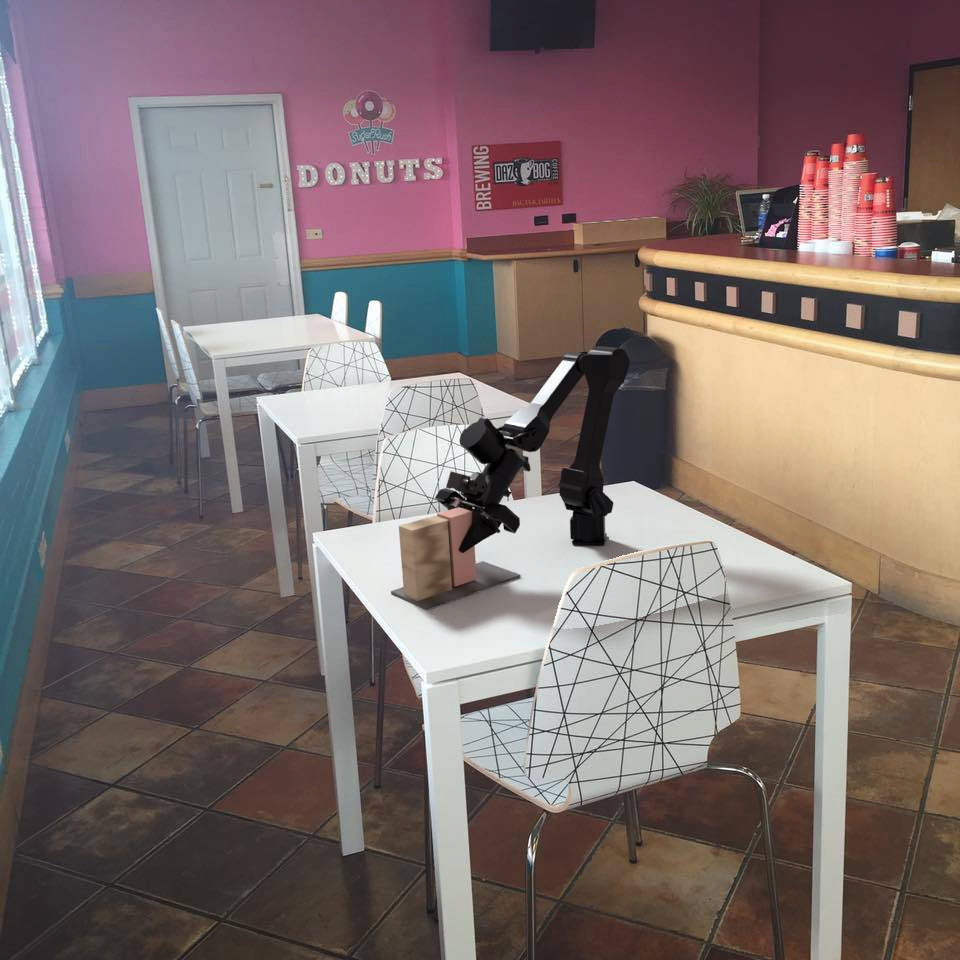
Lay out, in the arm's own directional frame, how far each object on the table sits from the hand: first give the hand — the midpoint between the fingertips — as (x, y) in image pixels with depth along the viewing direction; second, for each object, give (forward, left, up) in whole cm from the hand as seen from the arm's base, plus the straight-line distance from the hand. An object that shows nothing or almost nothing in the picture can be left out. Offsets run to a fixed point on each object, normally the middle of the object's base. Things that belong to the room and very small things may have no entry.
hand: (453, 549), depth 187 cm
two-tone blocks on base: (0, 0, -7) cm, 7 cm away
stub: (-1, -1, -7) cm, 7 cm away
